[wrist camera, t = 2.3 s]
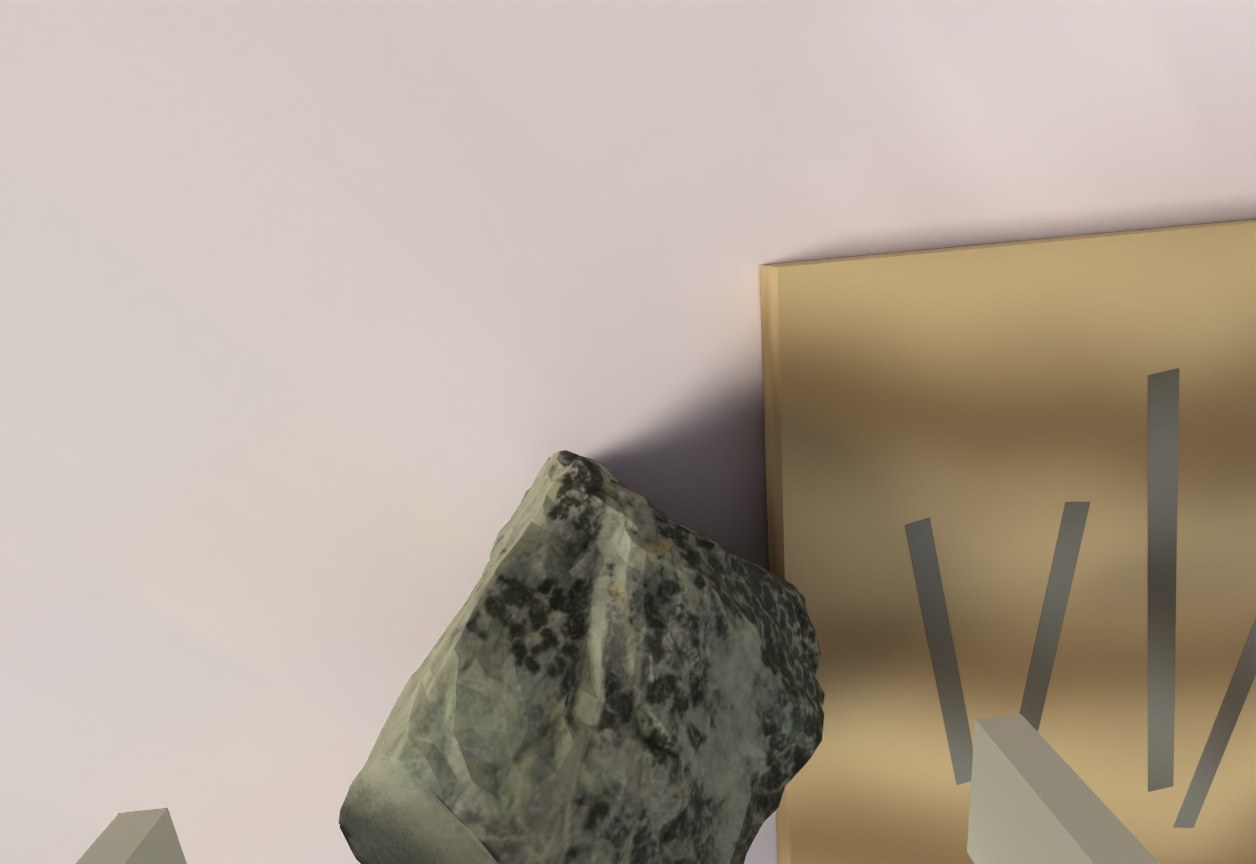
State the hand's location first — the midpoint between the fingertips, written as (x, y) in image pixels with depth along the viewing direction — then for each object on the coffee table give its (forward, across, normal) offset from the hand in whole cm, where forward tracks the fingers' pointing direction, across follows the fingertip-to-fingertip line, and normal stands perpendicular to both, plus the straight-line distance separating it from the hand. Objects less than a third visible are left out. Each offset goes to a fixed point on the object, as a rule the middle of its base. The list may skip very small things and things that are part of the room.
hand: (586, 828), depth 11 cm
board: (+7, +13, -2) cm, 15 cm away
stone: (+7, 0, 0) cm, 7 cm away
